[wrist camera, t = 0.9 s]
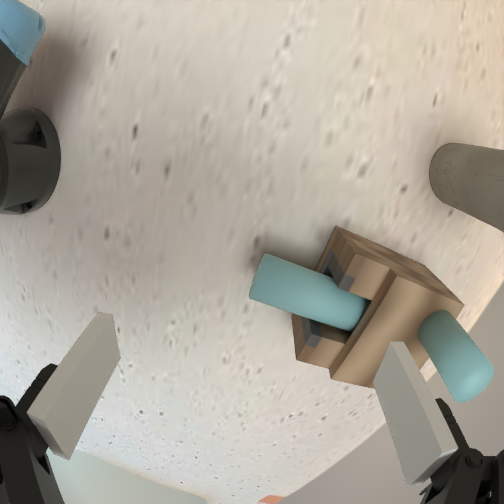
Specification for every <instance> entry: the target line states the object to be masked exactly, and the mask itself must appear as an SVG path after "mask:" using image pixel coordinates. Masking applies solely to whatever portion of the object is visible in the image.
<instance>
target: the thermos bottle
mask: <svg viewBox="0 0 504 504" xmlns="http://www.w3.org/2000/svg"><path fill="white" fill-rule="evenodd" d="M430 182H431V186H432V189H433V191H434V193H435V194H436V196H437V197H438V198H439V199H440V200H441V201H442V202H444V203H446V204H448V205H450V206H452V207H454V208H456V209H459V210H461V211H463V212H465V213H467V214H469V215H471V216H473V217H475V218H477V219H479V220H481V221H483V222H485V223H487V224H489V225H491V226H493V227H495V228H497V229H499V230H500V231H502V232H504V150H499V149H492V148H487V147H482V146H474V145H466V144H458V143H449V144H446V145H444V146H442V147H441V148H440V149H439V150H438V151H437V152H436V153H435V155H434V157H433V159H432V162H431V165H430Z"/></svg>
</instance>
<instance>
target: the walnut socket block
mask: <svg viewBox="0 0 504 504" xmlns="http://www.w3.org/2000/svg"><path fill="white" fill-rule="evenodd" d="M315 271H316V272H318V273H321V274H324V275H326V276H329V277H332V278H334V281H335V283H336V285H337V288H339V289H342V290H345V291H347V292H350V293H353V294H356V295H358V296H361V297H364V298H367V299H369V300H372V302H371V304H370V305H369V307H368V309H367V310H366V312H365V314H364V315H363V317H362V319H361V320H360V322H359V323H358V325H357V327H356V328H355V330H354V331H353V332H350V331H347V330H343V329H340V328H337V327H334V326H331V325H328V324H324V323H321V322H318V321H315V320H312V319H309V318H306V317H303V316H300V315H297V314H294V313H293V314H292V316H291V317H292V326H293V335H294V344H295V354H296V360H298V361H302V362H305V363H309V364H313V365H316V366H320V367H324V368H328V369H329V372H330V377H331V379H333V380H337V381H341V382H346V383H350V384H355V385H359V386H364V387H369V388H374V389H375V387H374V385H373V380H374V378H375V376H376V373H377V371H378V369H379V367H380V365H381V362H382V360H383V358H384V356H385V353H386V351H387V348H388V346H389V344H390V342H404V343H405V345H406V347H407V348H408V350H409V352H410V354H411V356H412V357H413V359H414V361H415V363H416V365H417V366H418V368H419V370H420V369H421V368H422V366H423V365H424V364H425V362H426V361H427V360H428V358H429V355H428V353H427V352H426V350H425V349H424V347H423V345H422V344H421V342H420V341H419V338H418V331H419V328H420V325H421V324H422V322H423V321H424V320H425V319H426V318H427V317H428V316H429V315H430V314H432V313H433V312H436V311H438V310H446V311H448V312H450V313H451V315H452V316H453V317H454V318H455V319H456V318H457V316H458V315H459V313H460V312H461V310H462V308H463V307H464V304H463V303H462V302H461V301H460V300H459V299H458V298H457V297H456V296H455V295H454V294H453V293H452V292H451V291H450V290H449V289H448V288H447V287H446V286H445V285H444V284H443V283H442V282H441V281H440V280H439V279H438V278H437V277H436V276H435V275H434V274H433V273H432V272H431V271H430V270H429V269H428V268H427V267H426V266H424V265H422V264H420V263H418V262H416V261H414V260H412V259H409V258H407V257H405V256H403V255H401V254H399V253H396V252H394V251H392V250H390V249H388V248H385V247H383V246H381V245H379V244H377V243H374V242H372V241H370V240H368V239H365V238H363V237H361V236H358V235H356V234H354V233H351V232H349V231H347V230H344V229H342V228H340V227H337V226H336V227H335V229H334V231H333V233H332V235H331V237H330V239H329V242H328V244H327V246H326V248H325V250H324V252H323V254H322V256H321V258H320V260H319V262H318V264H317V267H316V269H315Z"/></svg>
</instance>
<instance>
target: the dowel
mask: <svg viewBox="0 0 504 504" xmlns="http://www.w3.org/2000/svg"><path fill="white" fill-rule="evenodd" d="M418 338H419V341H420V342H421V344H422V345H423V347H424V349H425V350H426V352H427V353H428V355H429V357H430V358H431V360H432V362H433V363H434V365H435V367H436V369H437V370H438V372H439V374H440V375H441V377H442V379H443V380H444V382H445V384H446V386H447V388H448V389H449V391H450V393H451V395H452V397H453V398H454V400H455V401H456V402H466V401H468V400H470V399H472V398H474V397H476V396H477V395H478V394H479V393H481V392H482V391H483V390H484V389H485V388H486V386H487V385H488V384H489V383H490V381H491V379H492V377H493V375H494V367H493V366H492V365H491V363H490V362H489V360H488V359H487V358H486V357H485V355H484V354H483V353H482V351H481V350H480V349H479V348H478V346H477V345H476V344H475V342H474V341H473V340H472V339H471V338H470V336H469V335H468V334H467V333H466V331H465V330H464V329H463V328H462V326H461V325H460V324H459V323H458V322H457V320H456V319H455V318H454V317H453V316H452V315H451V313H450V312H448V311H446V310H438V311H436V312H433V313H432V314H430V315H429V316H428V317H427V318H426V319H425V320H424V321H423V322H422V324H421V325H420V328H419V331H418Z"/></svg>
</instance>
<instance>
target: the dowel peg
mask: <svg viewBox="0 0 504 504" xmlns="http://www.w3.org/2000/svg"><path fill="white" fill-rule="evenodd" d="M249 298H250V299H253V300H256V301H258V302H261V303H264V304H267V305H270V306H273V307H276V308H279V309H282V310H285V311H288V312H291V313H294V314H297V315H300V316H303V317H306V318H309V319H312V320H315V321H318V322H321V323H324V324H328V325H331V326H334V327H337V328H340V329H343V330H347V331H350V332H353V331H354V330H355V328H356V327H357V325H358V323H359V322H360V320H361V319H362V317H363V315H364V314H365V312H366V310H367V309H368V307H369V305H370V304H371V302H372V300H369V299H367V298H364V297H361V296H358V295H356V294H353V293H350V292H347V291H345V290H342V289H339V288H337V285H336V283H335V281H334V278H332V277H329V276H326V275H324V274H321V273H318V272H316V271H313V270H310V269H308V268H305V267H302V266H299V265H297V264H294V263H291V262H289V261H286V260H283V259H281V258H278V257H275V256H273V255H270V254H267V253H265V254H264V255H263V257H262V259H261V261H260V263H259V265H258V268H257V270H256V273H255V276H254V278H253V281H252V285H251V288H250V293H249Z"/></svg>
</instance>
